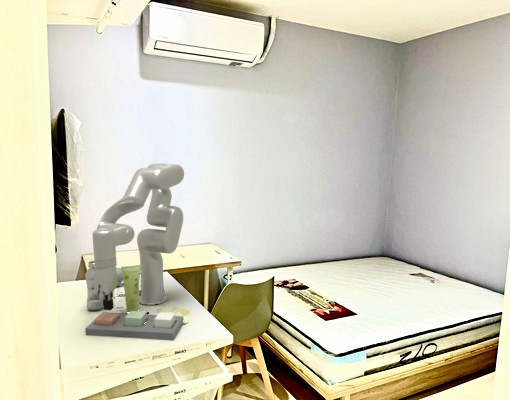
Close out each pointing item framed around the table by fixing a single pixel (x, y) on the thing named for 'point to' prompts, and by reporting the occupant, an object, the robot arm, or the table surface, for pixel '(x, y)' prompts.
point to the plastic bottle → (92, 289)
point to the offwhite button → (164, 320)
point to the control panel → (135, 329)
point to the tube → (131, 286)
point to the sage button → (136, 318)
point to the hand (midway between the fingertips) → (108, 309)
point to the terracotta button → (107, 319)
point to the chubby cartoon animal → (119, 276)
